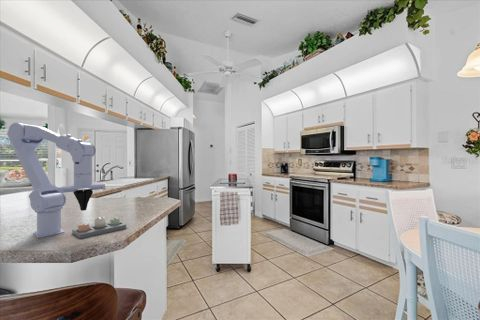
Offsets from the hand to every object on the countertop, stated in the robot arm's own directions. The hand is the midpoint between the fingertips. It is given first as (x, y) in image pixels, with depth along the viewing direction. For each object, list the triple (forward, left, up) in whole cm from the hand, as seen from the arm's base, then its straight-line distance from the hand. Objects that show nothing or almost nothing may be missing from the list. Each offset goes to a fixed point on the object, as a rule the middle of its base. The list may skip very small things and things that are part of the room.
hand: (83, 210), depth 87 cm
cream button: (0, +6, -8) cm, 9 cm away
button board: (0, +6, -9) cm, 11 cm away
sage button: (0, +11, -9) cm, 14 cm away
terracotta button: (0, 0, -9) cm, 9 cm away
